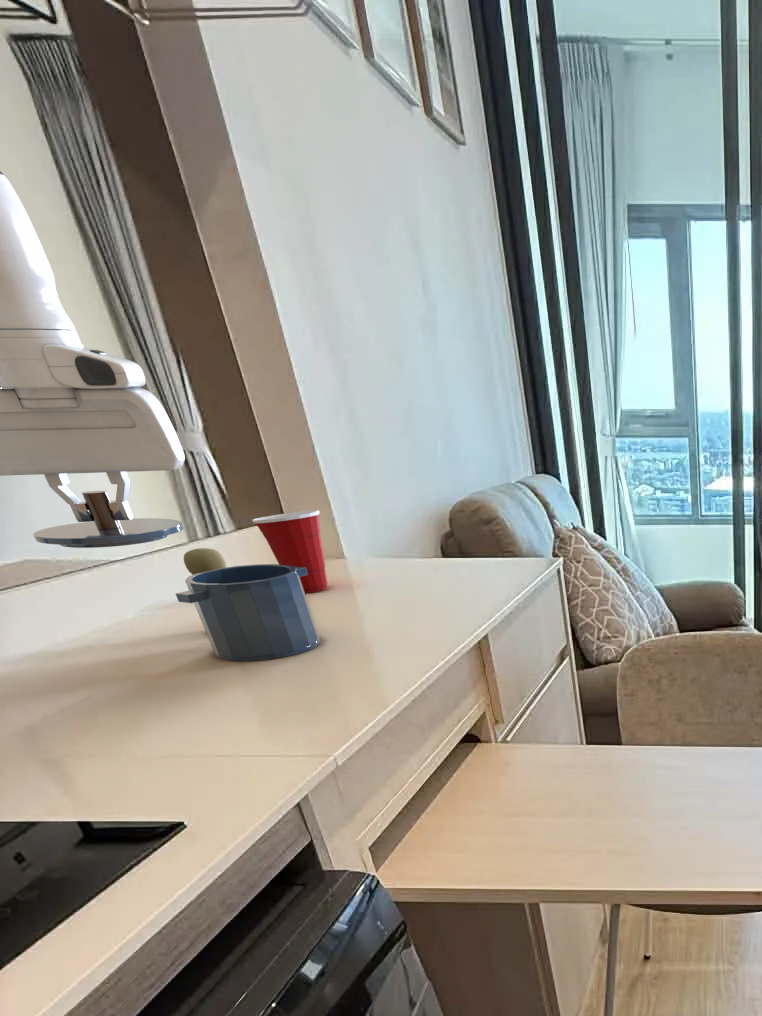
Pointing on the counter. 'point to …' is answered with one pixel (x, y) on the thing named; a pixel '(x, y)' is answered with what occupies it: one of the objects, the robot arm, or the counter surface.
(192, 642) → the counter surface
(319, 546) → the plastic cup
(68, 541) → the lid
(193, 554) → the cork
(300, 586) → the pot
